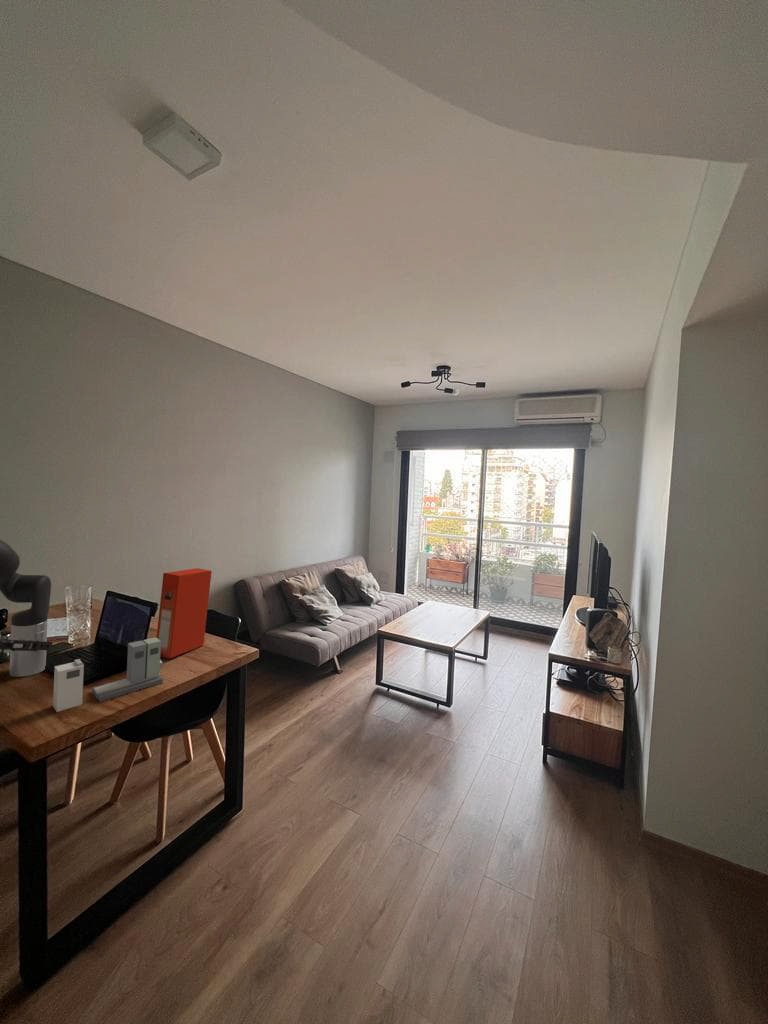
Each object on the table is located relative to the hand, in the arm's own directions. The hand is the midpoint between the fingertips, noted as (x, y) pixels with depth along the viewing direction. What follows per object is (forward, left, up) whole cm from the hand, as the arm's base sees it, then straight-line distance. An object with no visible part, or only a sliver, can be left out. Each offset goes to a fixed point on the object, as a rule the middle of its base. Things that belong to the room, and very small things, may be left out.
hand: (40, 645), depth 112 cm
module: (0, +7, -20) cm, 21 cm away
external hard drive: (-13, +33, -20) cm, 40 cm away
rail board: (0, +23, -20) cm, 30 cm away
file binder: (-18, +47, -20) cm, 54 cm away
